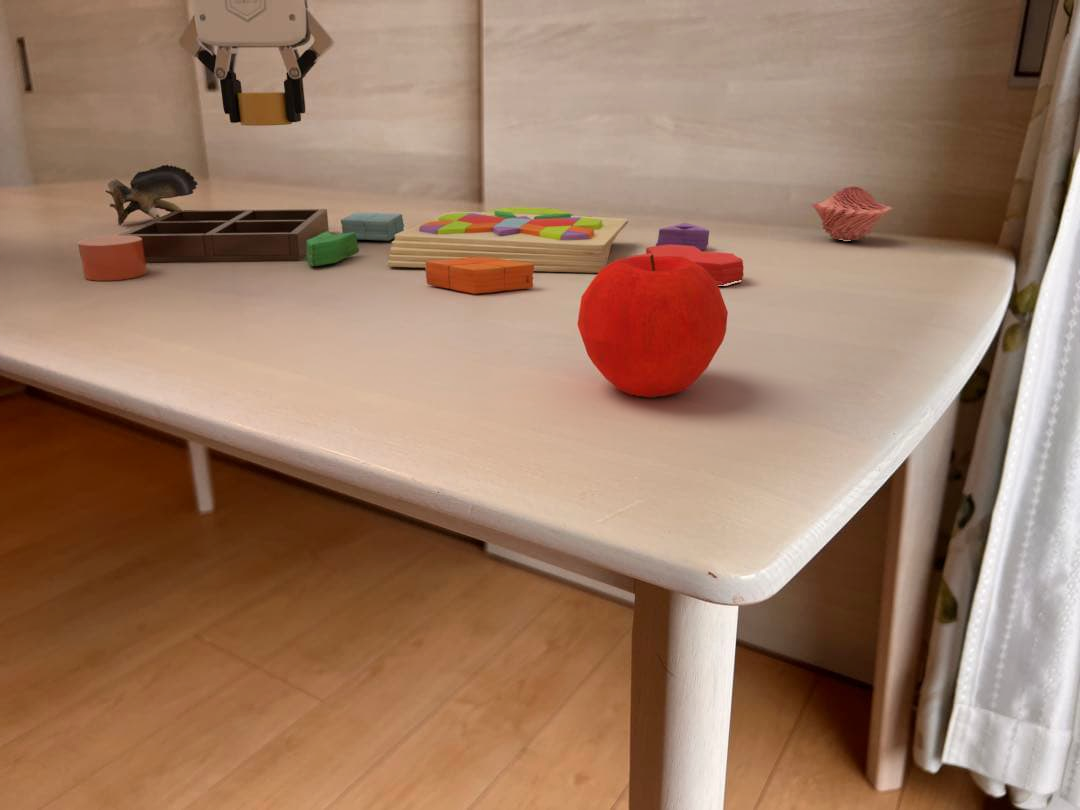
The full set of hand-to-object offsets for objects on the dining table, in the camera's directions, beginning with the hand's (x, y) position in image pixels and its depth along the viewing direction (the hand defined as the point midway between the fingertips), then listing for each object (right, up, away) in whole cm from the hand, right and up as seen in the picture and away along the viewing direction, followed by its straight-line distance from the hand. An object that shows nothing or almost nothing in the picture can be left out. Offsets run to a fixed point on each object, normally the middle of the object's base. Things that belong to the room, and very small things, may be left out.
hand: (266, 119), depth 86 cm
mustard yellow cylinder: (0, 0, 0) cm, 0 cm away
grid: (-4, -12, +1) cm, 13 cm away
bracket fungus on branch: (-18, -7, +16) cm, 25 cm away
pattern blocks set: (+25, -14, -3) cm, 29 cm away
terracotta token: (-9, -17, -12) cm, 23 cm away
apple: (+34, -28, -39) cm, 59 cm away
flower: (+60, -12, +4) cm, 61 cm away
